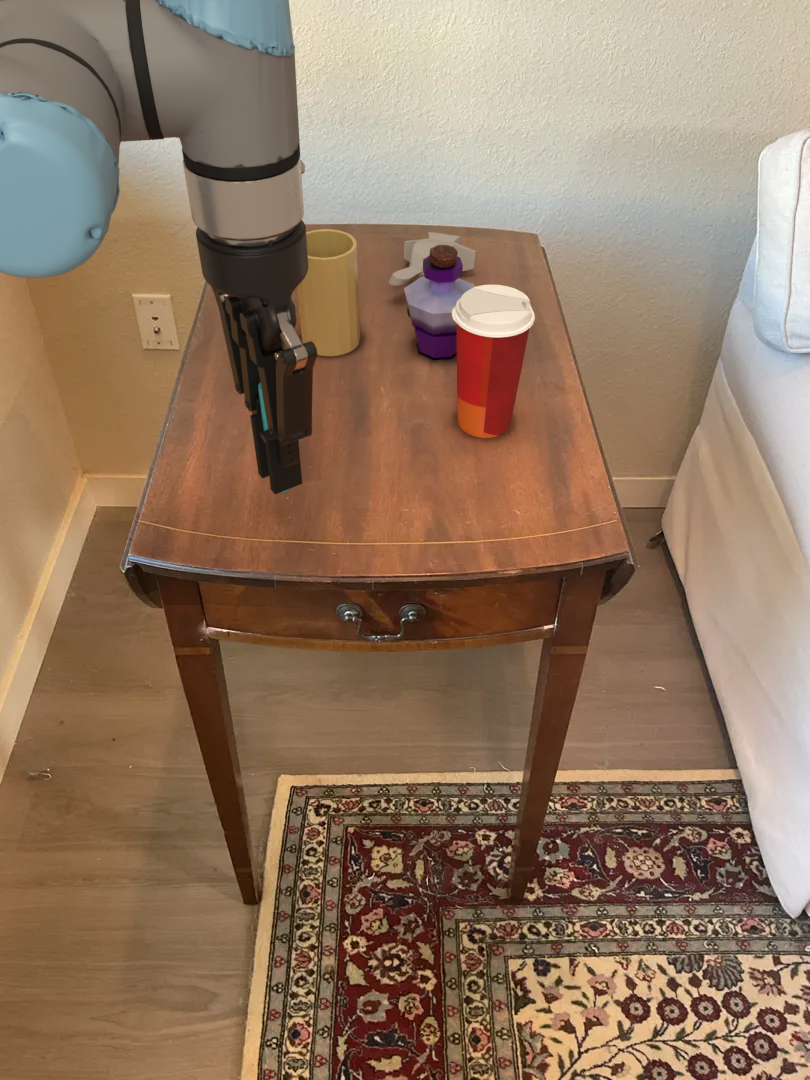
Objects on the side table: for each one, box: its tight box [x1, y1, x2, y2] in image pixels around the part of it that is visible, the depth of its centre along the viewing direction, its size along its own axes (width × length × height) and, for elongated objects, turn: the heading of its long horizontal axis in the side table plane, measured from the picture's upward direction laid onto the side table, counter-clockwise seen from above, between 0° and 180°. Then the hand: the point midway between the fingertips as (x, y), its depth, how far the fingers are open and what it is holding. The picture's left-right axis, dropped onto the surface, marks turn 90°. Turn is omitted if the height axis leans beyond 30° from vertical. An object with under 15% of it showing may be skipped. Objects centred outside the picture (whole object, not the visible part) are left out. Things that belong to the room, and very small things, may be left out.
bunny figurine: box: [388, 231, 477, 287], centre depth 106 cm, size 10×5×15 cm
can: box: [296, 228, 361, 357], centre depth 94 cm, size 7×7×12 cm
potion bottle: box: [403, 245, 476, 361], centre depth 93 cm, size 9×9×12 cm
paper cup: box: [452, 284, 536, 439], centre depth 83 cm, size 8×8×14 cm
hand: (280, 478), depth 74 cm, fingers closed on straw, 2 cm apart
